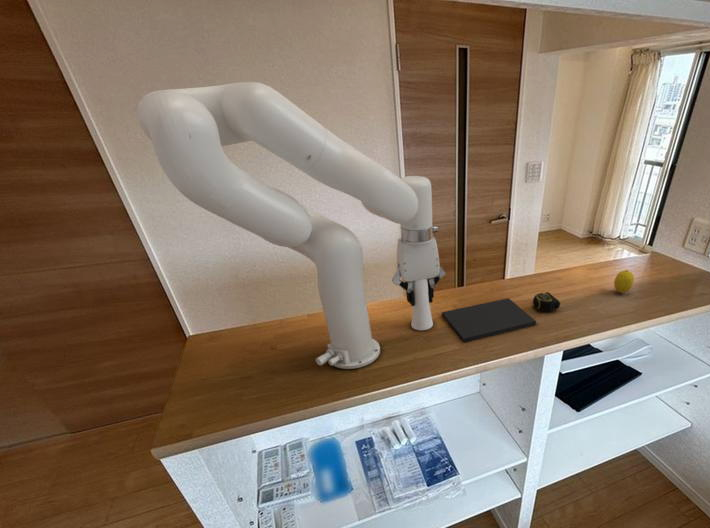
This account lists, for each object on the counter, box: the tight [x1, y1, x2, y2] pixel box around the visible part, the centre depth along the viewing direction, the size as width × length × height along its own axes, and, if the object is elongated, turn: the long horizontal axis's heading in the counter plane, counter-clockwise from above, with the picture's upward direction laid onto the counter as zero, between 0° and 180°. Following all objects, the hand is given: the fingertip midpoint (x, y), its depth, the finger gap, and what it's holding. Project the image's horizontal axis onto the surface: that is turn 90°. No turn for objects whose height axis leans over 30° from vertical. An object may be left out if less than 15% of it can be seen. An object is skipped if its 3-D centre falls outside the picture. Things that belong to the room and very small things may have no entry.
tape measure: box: [532, 291, 561, 312], centre depth 110 cm, size 7×7×4 cm
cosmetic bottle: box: [410, 279, 434, 331], centre depth 96 cm, size 6×6×22 cm
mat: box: [441, 297, 537, 343], centre depth 104 cm, size 22×15×1 cm
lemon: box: [613, 269, 635, 294], centre depth 117 cm, size 6×6×8 cm
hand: (420, 301), depth 98 cm, fingers closed on cosmetic bottle, 4 cm apart
